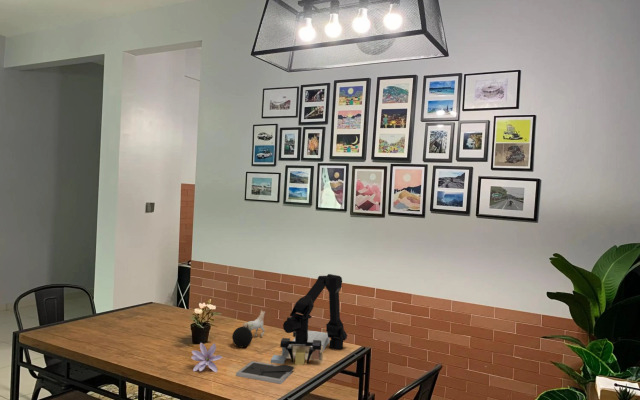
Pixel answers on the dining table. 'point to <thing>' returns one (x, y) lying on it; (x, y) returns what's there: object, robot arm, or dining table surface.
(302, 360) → the olive yellow block
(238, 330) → the decorative ball
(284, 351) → the bookend
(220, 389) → the dining table surface
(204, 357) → the water lily
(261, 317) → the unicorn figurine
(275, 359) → the blue book lying
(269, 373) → the picture frame
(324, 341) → the skincare box
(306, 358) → the shelf tray
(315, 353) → the salmon pink box
